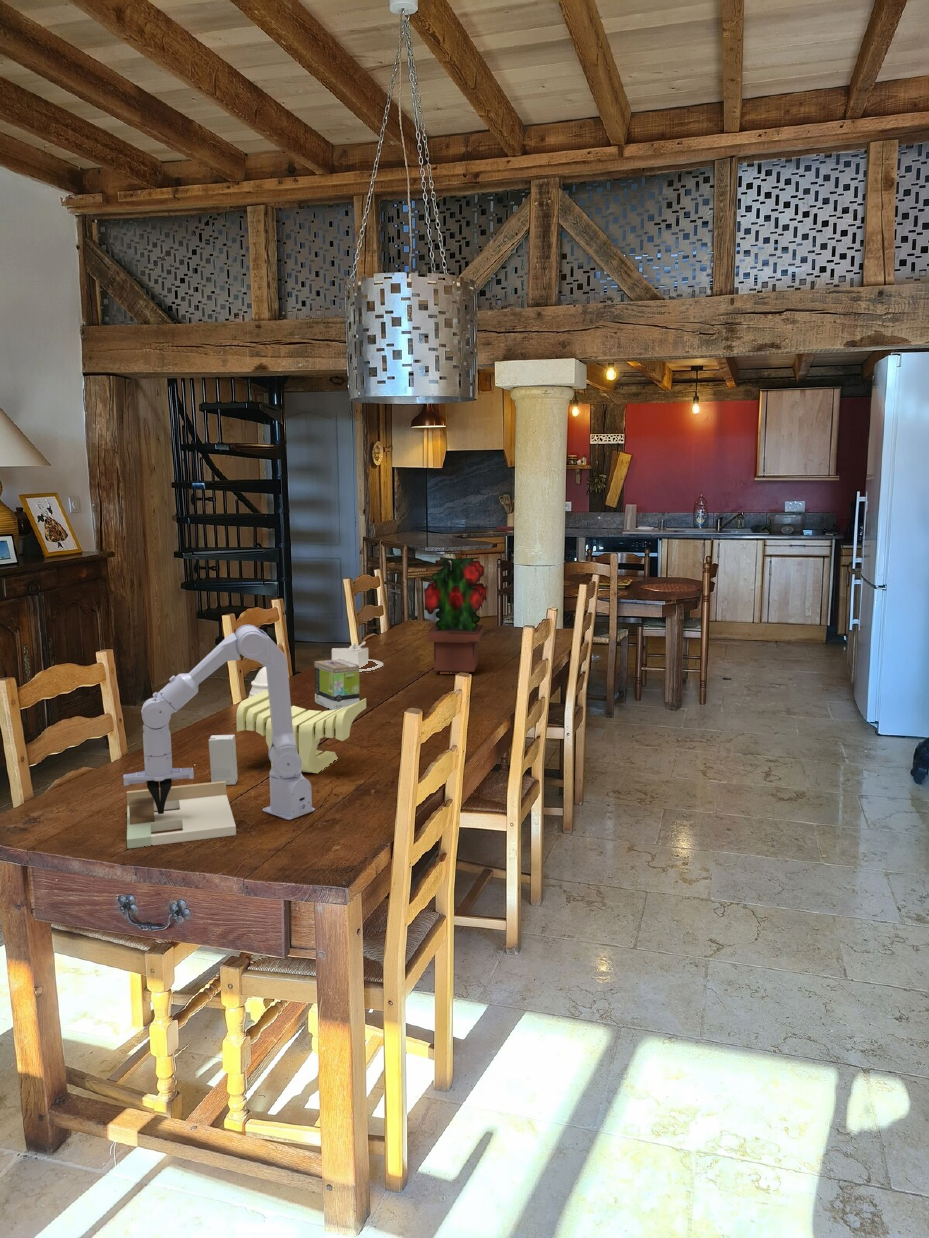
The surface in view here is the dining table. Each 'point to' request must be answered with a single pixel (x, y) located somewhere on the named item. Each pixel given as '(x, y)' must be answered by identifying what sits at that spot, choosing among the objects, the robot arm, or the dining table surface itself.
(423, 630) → the dining table surface
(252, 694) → the honey pot
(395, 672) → the dining table surface
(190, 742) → the dining table surface
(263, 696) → the slatted curved stool
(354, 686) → the tea box
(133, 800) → the walnut block
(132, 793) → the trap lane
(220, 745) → the skincare box
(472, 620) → the potted plant
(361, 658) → the white block with ring
